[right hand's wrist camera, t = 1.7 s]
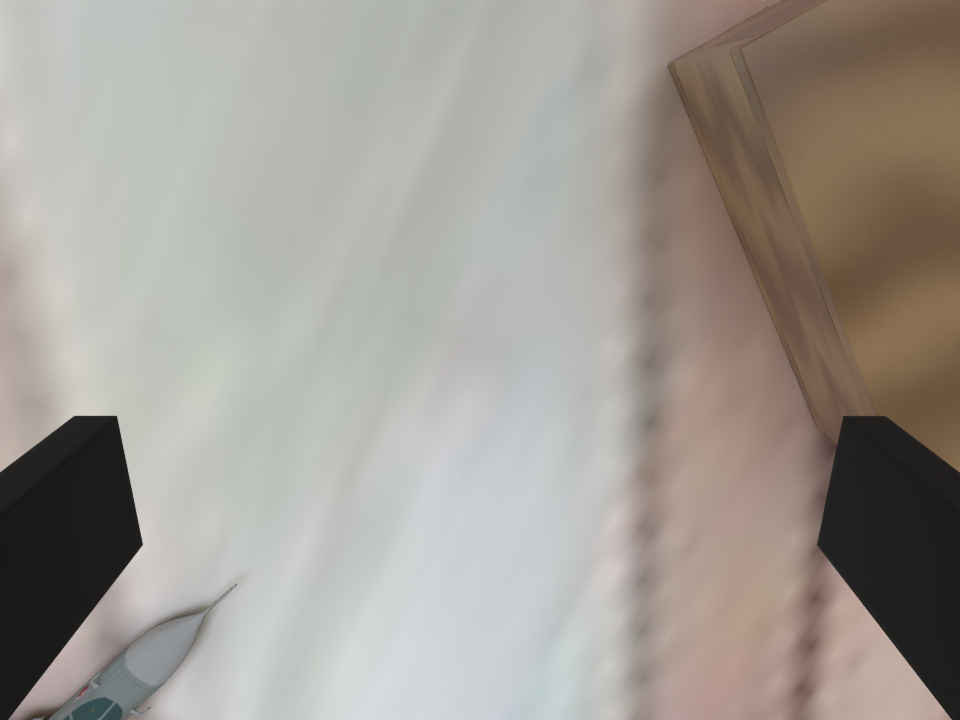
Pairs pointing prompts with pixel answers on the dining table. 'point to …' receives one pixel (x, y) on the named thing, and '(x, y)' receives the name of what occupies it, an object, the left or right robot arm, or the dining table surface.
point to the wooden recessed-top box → (846, 197)
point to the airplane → (135, 672)
